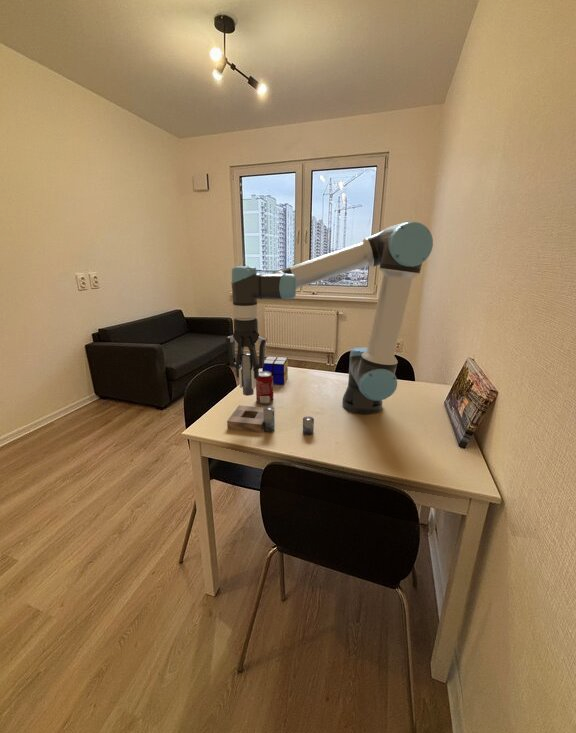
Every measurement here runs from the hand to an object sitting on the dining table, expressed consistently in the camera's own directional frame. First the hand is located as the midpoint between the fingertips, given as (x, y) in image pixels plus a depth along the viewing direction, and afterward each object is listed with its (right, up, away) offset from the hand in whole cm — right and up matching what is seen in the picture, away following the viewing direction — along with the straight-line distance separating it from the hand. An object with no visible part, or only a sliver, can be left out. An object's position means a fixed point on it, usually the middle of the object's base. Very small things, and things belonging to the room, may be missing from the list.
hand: (248, 386), depth 109 cm
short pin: (+20, -15, -2) cm, 25 cm away
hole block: (0, -13, +4) cm, 13 cm away
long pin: (0, -2, +1) cm, 2 cm away
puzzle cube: (+8, 0, +42) cm, 42 cm away
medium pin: (+7, -15, -1) cm, 16 cm away
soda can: (+4, -8, +20) cm, 22 cm away
